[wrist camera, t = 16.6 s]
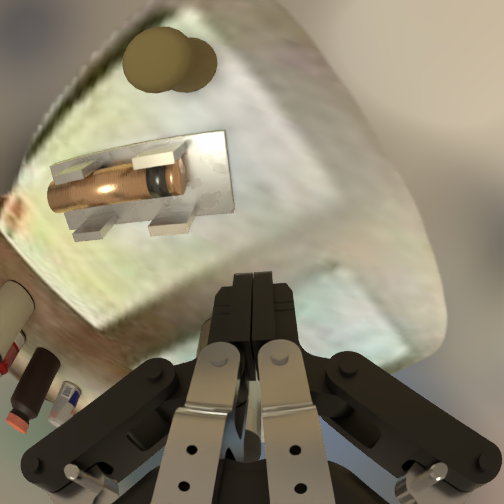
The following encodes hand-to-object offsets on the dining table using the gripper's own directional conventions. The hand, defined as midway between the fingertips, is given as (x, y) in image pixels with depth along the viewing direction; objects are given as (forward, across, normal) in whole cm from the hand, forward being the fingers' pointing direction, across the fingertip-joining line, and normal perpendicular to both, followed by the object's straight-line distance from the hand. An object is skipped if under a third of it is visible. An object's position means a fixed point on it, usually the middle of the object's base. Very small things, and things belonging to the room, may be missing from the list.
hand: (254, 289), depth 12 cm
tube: (+20, +16, 0) cm, 26 cm away
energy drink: (+22, +50, +48) cm, 73 cm away
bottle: (+22, +50, +36) cm, 65 cm away
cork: (+22, +6, -11) cm, 25 cm away
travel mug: (+22, +46, +18) cm, 54 cm away
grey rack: (+21, +14, +1) cm, 26 cm away
